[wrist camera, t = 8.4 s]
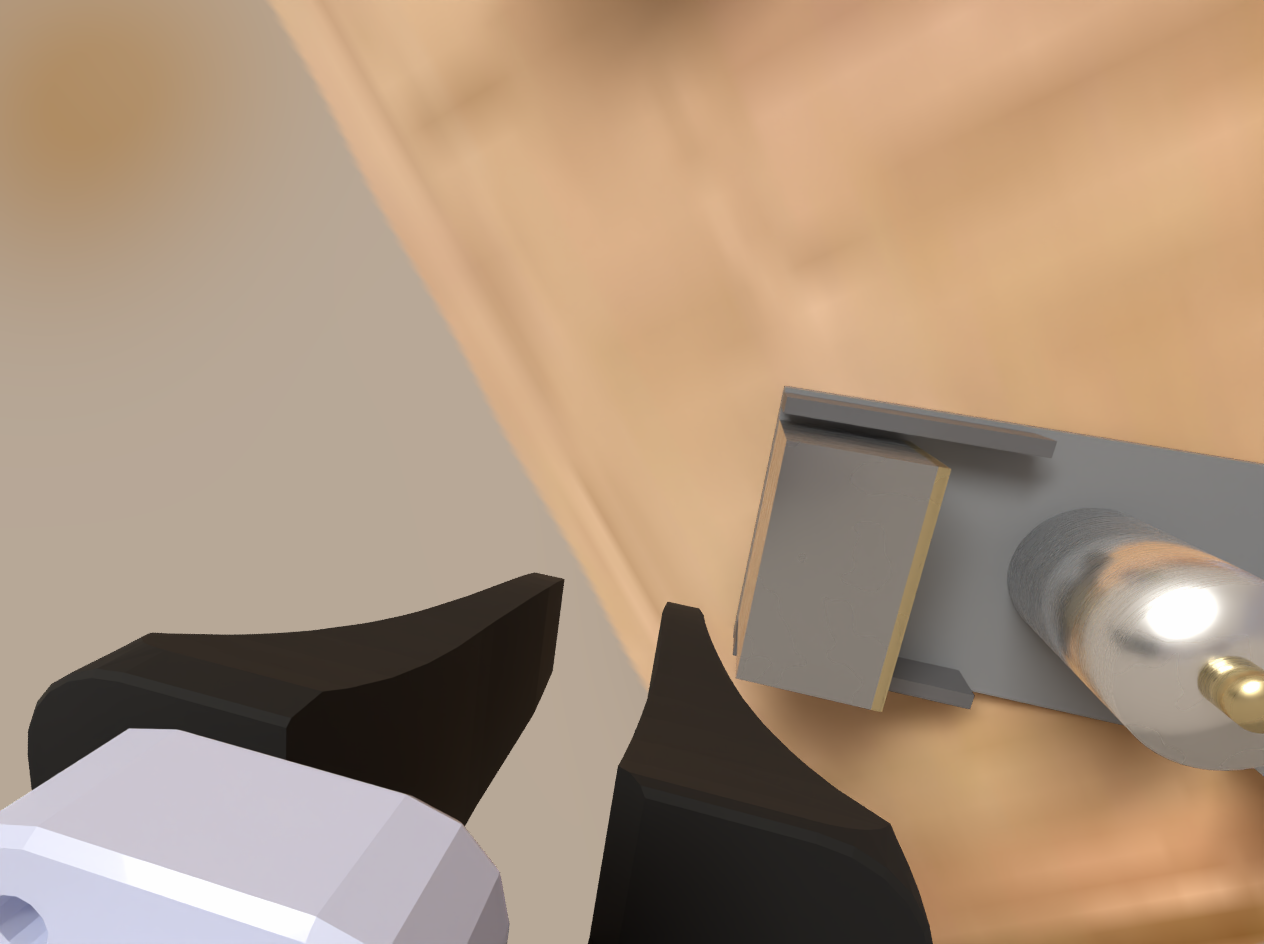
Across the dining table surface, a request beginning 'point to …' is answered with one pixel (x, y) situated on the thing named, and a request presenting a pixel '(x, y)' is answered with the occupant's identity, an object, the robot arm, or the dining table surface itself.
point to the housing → (1151, 632)
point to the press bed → (1002, 517)
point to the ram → (836, 562)
